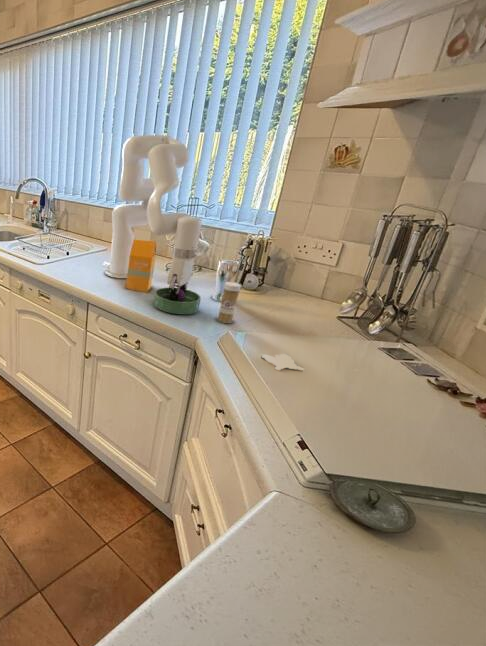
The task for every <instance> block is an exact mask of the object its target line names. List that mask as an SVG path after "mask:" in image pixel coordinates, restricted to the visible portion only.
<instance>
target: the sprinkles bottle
mask: <svg viewBox="0 0 486 646" xmlns="http://www.w3.org/2000/svg"><path fill="white" fill-rule="evenodd" d="M241 287H242V285H241V284H240V283H238V282H236V281H235V282H226V283H225V286H224V293H223V297H222V302H220V307H219V311H218V315H217V321H218V322H219V323H222V324H232V322H233V319H234V314H235V311H236V306H237V302H238V297H239V294H240V291H241Z"/></svg>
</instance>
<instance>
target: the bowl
mask: <svg viewBox="0 0 486 646" xmlns="http://www.w3.org/2000/svg"><path fill="white" fill-rule="evenodd" d="M175 288H176V289H177V287H175ZM169 296H170V288H169V287H161V288H158V289H156V290H155V291H154V297H153V306H154V307H155V309H158V310H160V311H162V312H166V313H169V314H175V315H191V314H195V313H197V312H198V311H199V309H200V304H201V300H202V299H201V295H199V293H197V292H195V291H192V290H191V289H186V294H185V299H184V300H183V301H181V302H177V301H171V300H169Z"/></svg>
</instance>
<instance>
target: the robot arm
mask: <svg viewBox="0 0 486 646" xmlns="http://www.w3.org/2000/svg"><path fill="white" fill-rule="evenodd" d="M121 151H122V152H121V154H122V155H121V159H122V171H121V176H120V182H119V183H120V184H119V190H118V197H119V200H121V201H122V202H126V203H125V204H120V205H119V204H118V205H116V206H115V207H114V208H113V209H112V211H111V222H112V236H111V247H110V257H109V262H107V261H104V262H102V268H106V270H105V272H104V273H105V275H106V276H108V277H111V278H115V279H127V274H128V266H129V257H130V252H131V248H132V244H133V240H135V234H134V231H133V230H132V227H140V226H141V227H142V226H147V225H149V229H150V231H151V232H152V233H153V234H154V235H156V236H169V235H175V237H174V242H173V249H172V259H171V261H170V265H169V270H168V273H167V279H166V283H167V285H168V288H170V296H169V300H171V301H177V302H178V300H179V294H178V293H179V290H180V289H181V290H183V291H184V293H185V294H186V290H188V284H189V282H190V281H191V279H192V277H193V269H194V262H195V261H194V260H195V259H196V258H197V253H198V248H199V242H200V235H201V230H202V224H203V220H202V219H201V218H200V217H198V216H191V215H190V214H188V213H187V212H170V213H163V211H162V205H161V202H162V199H163V196H164V195H166V194H168V193H170V192H172V191H174V190H175V189H177V188H178V187H179V184H180V181H179V180H180V179H179V175H178V170H177V169H180V168H184V167H185V166H186V165H187V163H188V161H189V158H190V154H189V149H188V148H187V146H186V145H185V144H184V143H183V142H181V141H179V140H177V139H175V138H173V137H171V136H169V135H165V134H161V135H160V134H159V135H158V134H155V135H154V134H152V135H150V134H147V135H145V134H143V135H134V136H131V137H129V138H128V139H127V140H126V141H125V142H124V144H123V146H122V150H121ZM143 159H145V160H146V159H147V161H148V165H149V166H148V167H149V170H150V171H149V172H150V174H151V177H144V173H145V165H144V162H143V161H142V160H143ZM129 202H131V203H129ZM132 202H134V203H132ZM135 202H139V203H135ZM127 203H128V204H127ZM176 288H177V290H176ZM184 299H185V298H184Z"/></svg>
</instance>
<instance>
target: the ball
mask: <svg viewBox="0 0 486 646" xmlns="http://www.w3.org/2000/svg"><path fill="white" fill-rule="evenodd" d="M176 290H177V289H176ZM178 294H179V300H178V302H181V301H183V300H184V298H185V293H184V291H183V290H181V289H180V290H179V293H178Z"/></svg>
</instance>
